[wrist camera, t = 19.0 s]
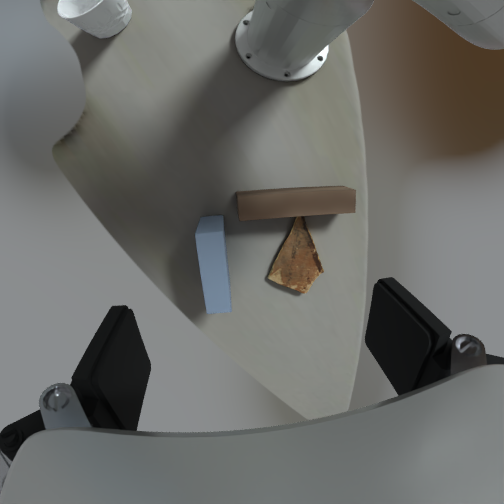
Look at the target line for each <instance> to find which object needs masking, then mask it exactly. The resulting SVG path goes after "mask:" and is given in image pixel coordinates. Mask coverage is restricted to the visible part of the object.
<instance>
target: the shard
mask: <svg viewBox="0 0 504 504" xmlns="http://www.w3.org/2000/svg"><path fill="white" fill-rule="evenodd" d="M323 272H324V270H323V268H322V266H321V262H320V259H319V257H318V253H317V251H316V248H315V245H314V242H313V239H312V237H311V234H310V232H309V230H308V228H307V226H306V223H305V219H304V216H297V217H296V219H295V221H294V224H293V227H292V230H291V233H290V234H289V236H288V238H287V239H286V240H285V242H284V244H283V247H282V249H281V250H280V252H279V254H278V257H277V258H276V260H275V262H274V263H273V266H272V269H271V271H270V273H269V275H268V279H270V280H272V281H274V282H276V283H278V284H280V285H283V286H286V287H289V288H292V289H294V290H297V291H299V292H301V293H307V292H308V290H309V289H310V287H311V285H312V283H313V282H314V281H315V279H316V278H317V277H318V276H319V275H320V274H321V273H323Z"/></svg>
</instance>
